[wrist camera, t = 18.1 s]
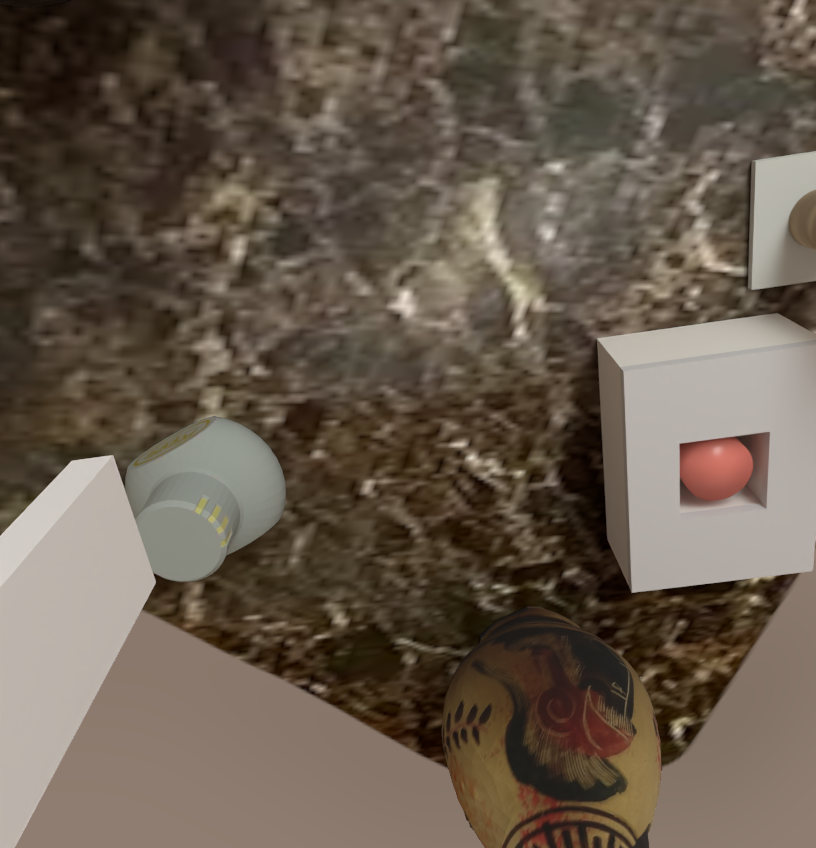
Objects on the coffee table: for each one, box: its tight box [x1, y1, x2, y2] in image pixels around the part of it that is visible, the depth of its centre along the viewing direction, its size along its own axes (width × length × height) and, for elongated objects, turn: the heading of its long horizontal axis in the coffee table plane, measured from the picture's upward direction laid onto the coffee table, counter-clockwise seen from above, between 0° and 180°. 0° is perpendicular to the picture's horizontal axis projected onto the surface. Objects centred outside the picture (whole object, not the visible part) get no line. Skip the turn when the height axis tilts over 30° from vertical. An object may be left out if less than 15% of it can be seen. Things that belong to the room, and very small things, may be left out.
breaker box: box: [597, 313, 816, 593], centre depth 50 cm, size 16×12×7 cm
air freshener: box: [125, 416, 286, 582], centre depth 50 cm, size 11×8×10 cm
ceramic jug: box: [442, 607, 662, 848], centre depth 47 cm, size 17×15×30 cm
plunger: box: [679, 436, 753, 501], centre depth 50 cm, size 4×4×5 cm
